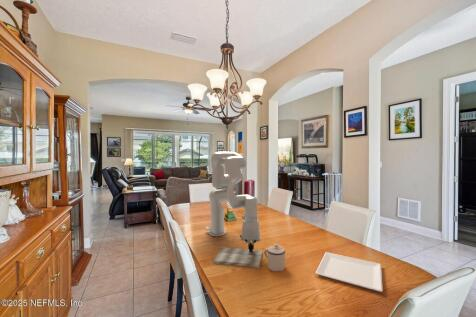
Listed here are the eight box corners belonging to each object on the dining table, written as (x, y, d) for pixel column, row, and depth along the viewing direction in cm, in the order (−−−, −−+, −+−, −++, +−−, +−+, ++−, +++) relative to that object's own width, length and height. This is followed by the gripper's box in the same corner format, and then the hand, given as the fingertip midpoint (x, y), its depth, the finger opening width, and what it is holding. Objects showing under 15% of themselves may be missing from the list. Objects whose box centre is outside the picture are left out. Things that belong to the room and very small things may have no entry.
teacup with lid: (289, 267, 109) (288, 244, 109) (278, 274, 103) (277, 249, 103) (270, 259, 118) (270, 237, 118) (259, 264, 112) (258, 242, 111)
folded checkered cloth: (219, 254, 124) (219, 251, 124) (222, 249, 129) (222, 247, 129) (261, 258, 119) (261, 255, 119) (262, 253, 125) (262, 250, 124)
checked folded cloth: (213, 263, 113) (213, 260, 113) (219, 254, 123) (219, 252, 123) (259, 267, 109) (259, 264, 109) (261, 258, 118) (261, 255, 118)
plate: (382, 296, 87) (382, 291, 87) (315, 277, 101) (315, 272, 101) (380, 267, 109) (380, 263, 109) (325, 255, 123) (325, 251, 123)
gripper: (236, 219, 122) (236, 252, 122) (263, 221, 119) (263, 254, 119) (239, 216, 129) (239, 246, 129) (264, 217, 126) (264, 248, 126)
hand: (251, 250), depth 124 cm, fingers closed
